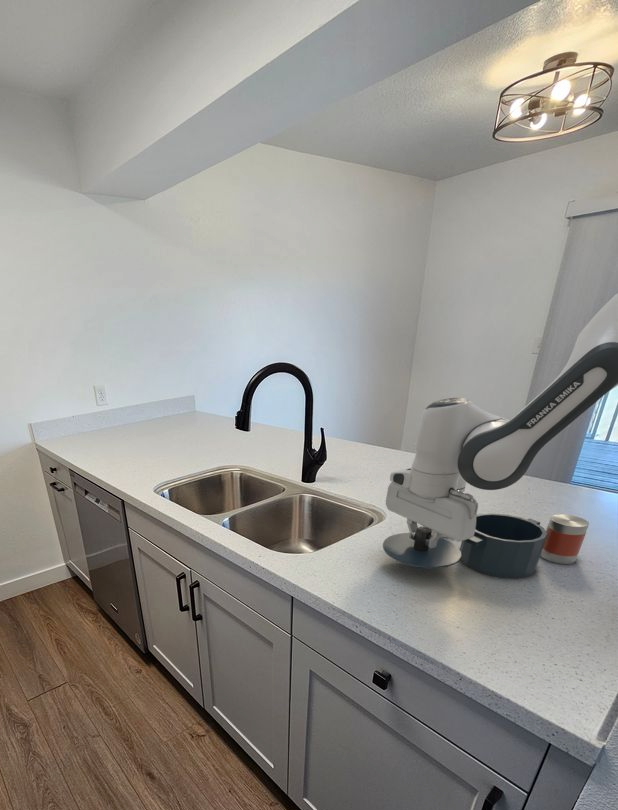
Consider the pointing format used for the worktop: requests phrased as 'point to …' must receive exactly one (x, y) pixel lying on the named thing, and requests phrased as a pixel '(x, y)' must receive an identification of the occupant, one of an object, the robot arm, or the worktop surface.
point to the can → (564, 538)
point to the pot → (504, 546)
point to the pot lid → (421, 550)
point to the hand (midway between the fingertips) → (422, 542)
